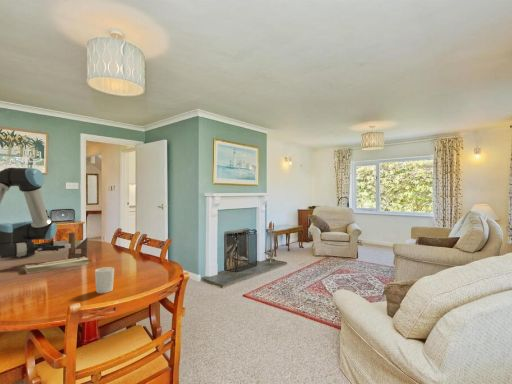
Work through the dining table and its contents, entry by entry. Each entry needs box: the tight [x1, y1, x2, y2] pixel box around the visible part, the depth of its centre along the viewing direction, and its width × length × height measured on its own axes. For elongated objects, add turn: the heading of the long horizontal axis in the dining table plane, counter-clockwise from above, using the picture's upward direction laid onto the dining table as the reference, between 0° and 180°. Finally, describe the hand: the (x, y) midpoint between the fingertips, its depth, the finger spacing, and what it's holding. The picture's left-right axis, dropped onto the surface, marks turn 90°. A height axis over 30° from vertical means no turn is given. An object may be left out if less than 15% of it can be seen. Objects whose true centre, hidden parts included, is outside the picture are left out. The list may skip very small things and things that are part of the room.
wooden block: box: [67, 231, 89, 259], centre depth 187 cm, size 4×11×18 cm, turn 114°
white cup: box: [94, 266, 115, 294], centre depth 130 cm, size 8×8×10 cm
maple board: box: [24, 257, 90, 275], centre depth 168 cm, size 10×30×3 cm, turn 135°
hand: (68, 244), depth 181 cm, fingers open, 13 cm apart
